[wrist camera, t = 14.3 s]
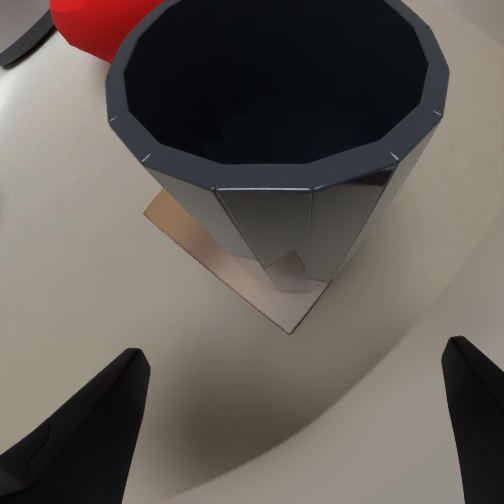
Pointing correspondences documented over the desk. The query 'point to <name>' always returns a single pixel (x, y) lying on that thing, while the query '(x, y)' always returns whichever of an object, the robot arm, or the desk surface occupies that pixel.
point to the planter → (22, 27)
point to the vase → (99, 23)
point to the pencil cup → (280, 121)
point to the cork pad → (230, 265)
